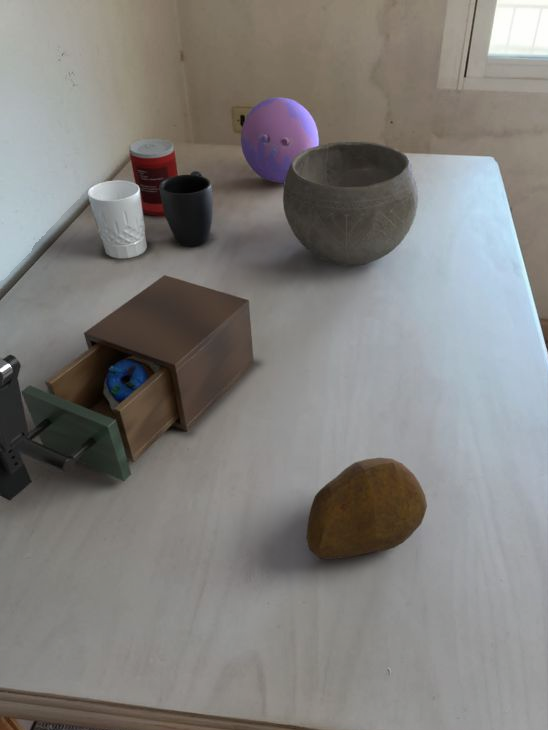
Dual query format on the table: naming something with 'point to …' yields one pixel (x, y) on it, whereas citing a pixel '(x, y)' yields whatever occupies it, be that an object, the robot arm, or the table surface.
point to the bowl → (350, 200)
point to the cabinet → (184, 340)
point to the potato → (365, 510)
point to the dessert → (127, 378)
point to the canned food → (152, 171)
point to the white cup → (119, 217)
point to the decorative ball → (276, 137)
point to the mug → (188, 207)
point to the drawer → (96, 416)
